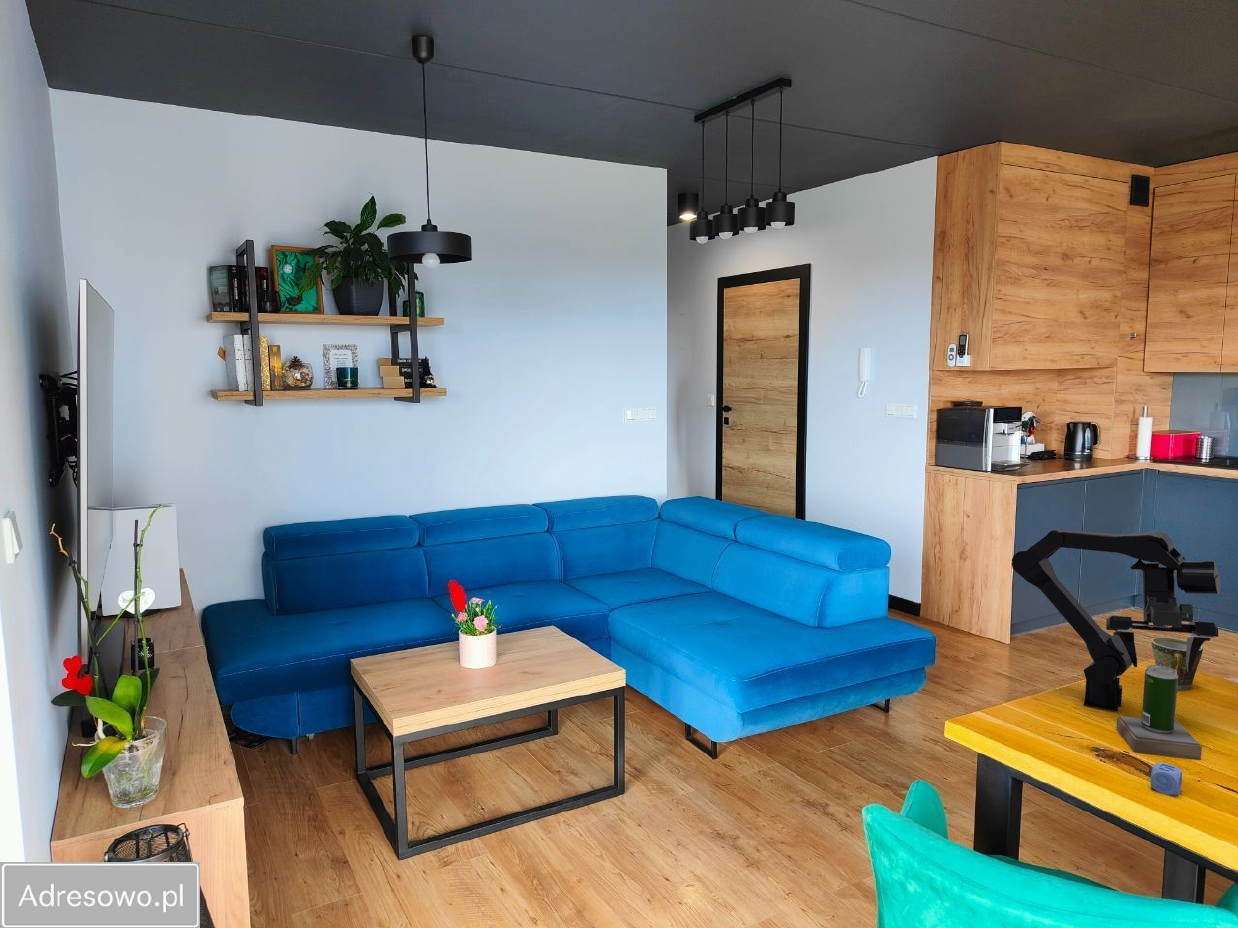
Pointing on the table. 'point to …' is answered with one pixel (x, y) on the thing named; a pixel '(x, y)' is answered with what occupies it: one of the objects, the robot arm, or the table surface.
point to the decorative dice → (1166, 779)
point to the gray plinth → (1158, 739)
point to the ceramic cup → (1175, 659)
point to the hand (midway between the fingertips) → (1161, 669)
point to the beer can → (1159, 699)
